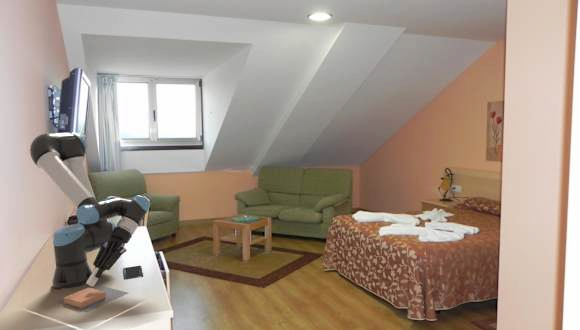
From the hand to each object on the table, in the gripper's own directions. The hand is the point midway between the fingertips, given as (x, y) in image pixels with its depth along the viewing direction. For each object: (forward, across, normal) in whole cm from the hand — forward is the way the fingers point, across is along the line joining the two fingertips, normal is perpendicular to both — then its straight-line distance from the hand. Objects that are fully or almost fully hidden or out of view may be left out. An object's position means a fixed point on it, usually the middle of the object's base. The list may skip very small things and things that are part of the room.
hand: (89, 284), depth 159 cm
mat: (+4, 0, +5) cm, 6 cm away
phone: (-14, -8, +23) cm, 28 cm away
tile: (+1, 0, +5) cm, 5 cm away
